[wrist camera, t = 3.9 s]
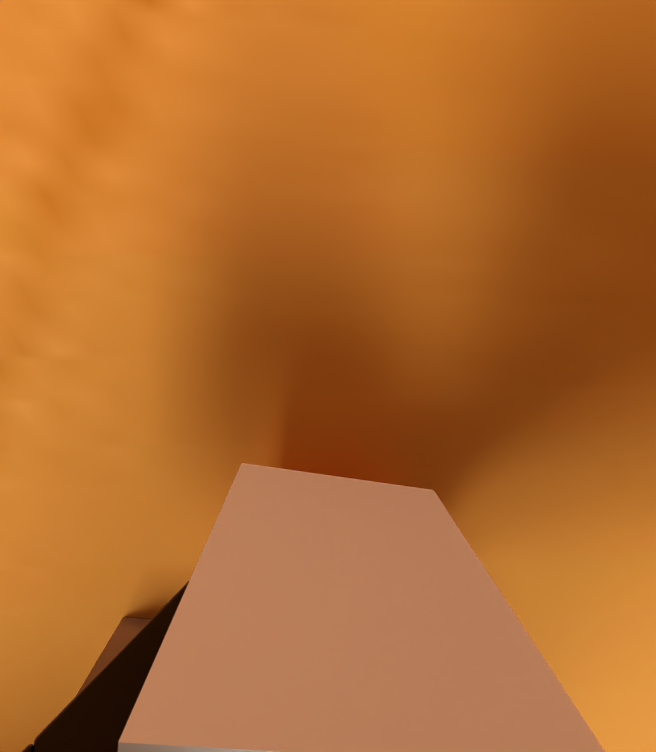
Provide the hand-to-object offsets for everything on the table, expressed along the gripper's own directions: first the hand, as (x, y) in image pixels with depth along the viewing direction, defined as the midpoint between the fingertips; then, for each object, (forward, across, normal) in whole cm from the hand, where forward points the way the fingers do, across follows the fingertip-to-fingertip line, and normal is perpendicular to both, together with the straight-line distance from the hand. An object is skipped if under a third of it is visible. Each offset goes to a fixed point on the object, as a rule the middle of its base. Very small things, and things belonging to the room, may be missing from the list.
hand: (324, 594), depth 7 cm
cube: (+1, 0, 0) cm, 1 cm away
